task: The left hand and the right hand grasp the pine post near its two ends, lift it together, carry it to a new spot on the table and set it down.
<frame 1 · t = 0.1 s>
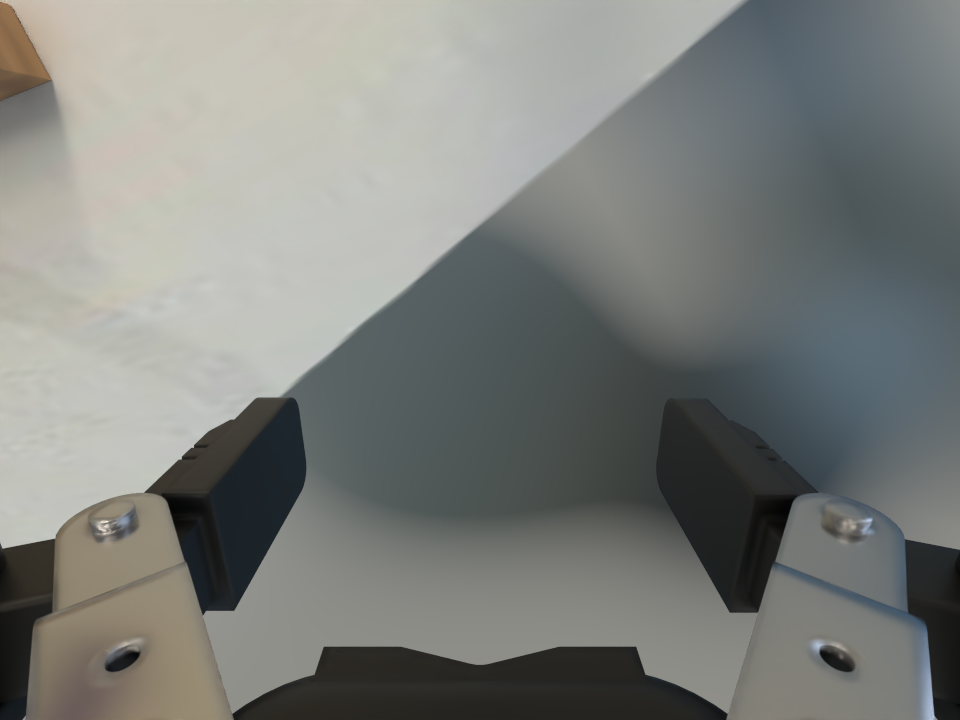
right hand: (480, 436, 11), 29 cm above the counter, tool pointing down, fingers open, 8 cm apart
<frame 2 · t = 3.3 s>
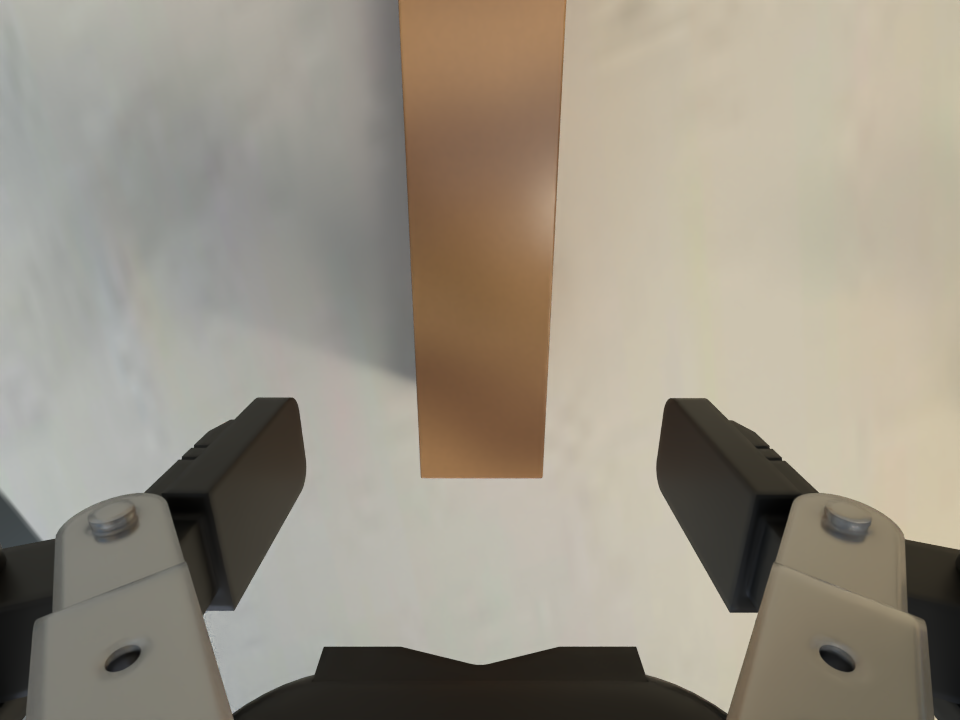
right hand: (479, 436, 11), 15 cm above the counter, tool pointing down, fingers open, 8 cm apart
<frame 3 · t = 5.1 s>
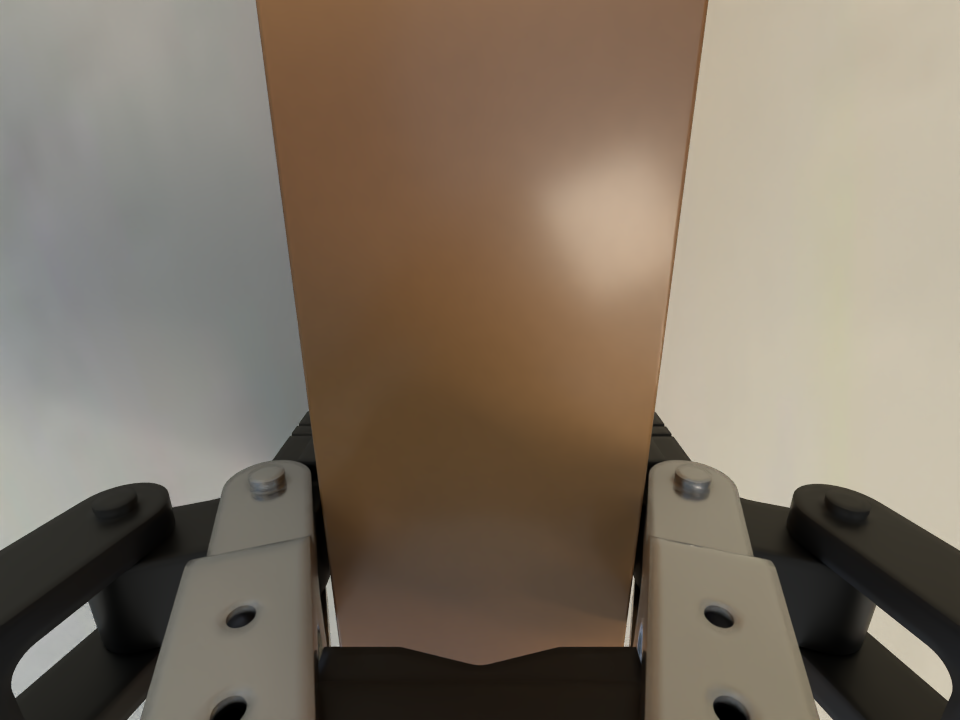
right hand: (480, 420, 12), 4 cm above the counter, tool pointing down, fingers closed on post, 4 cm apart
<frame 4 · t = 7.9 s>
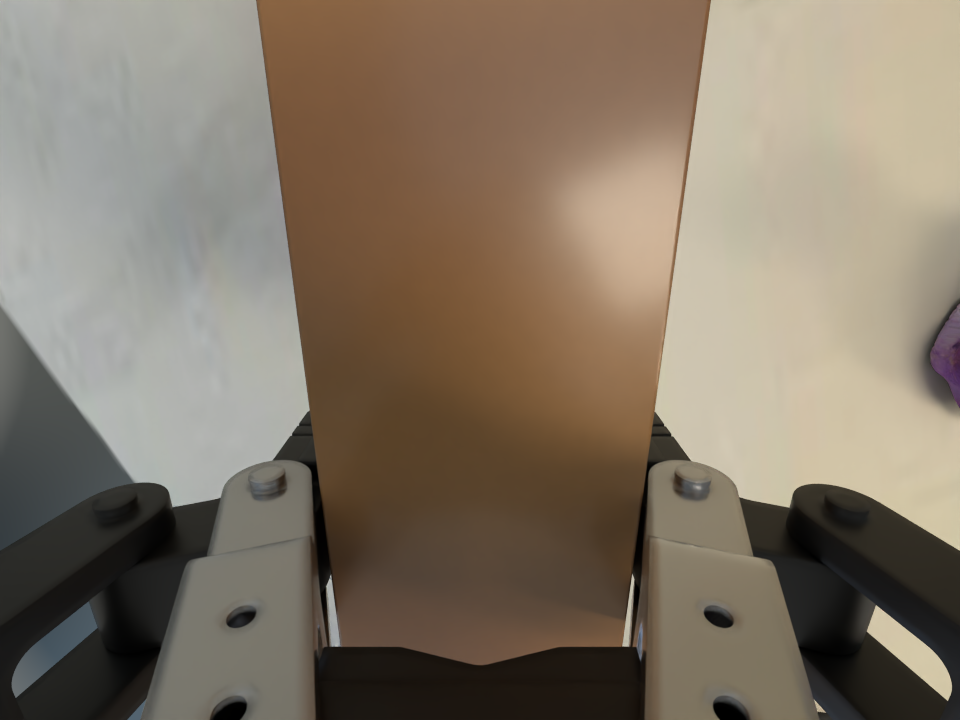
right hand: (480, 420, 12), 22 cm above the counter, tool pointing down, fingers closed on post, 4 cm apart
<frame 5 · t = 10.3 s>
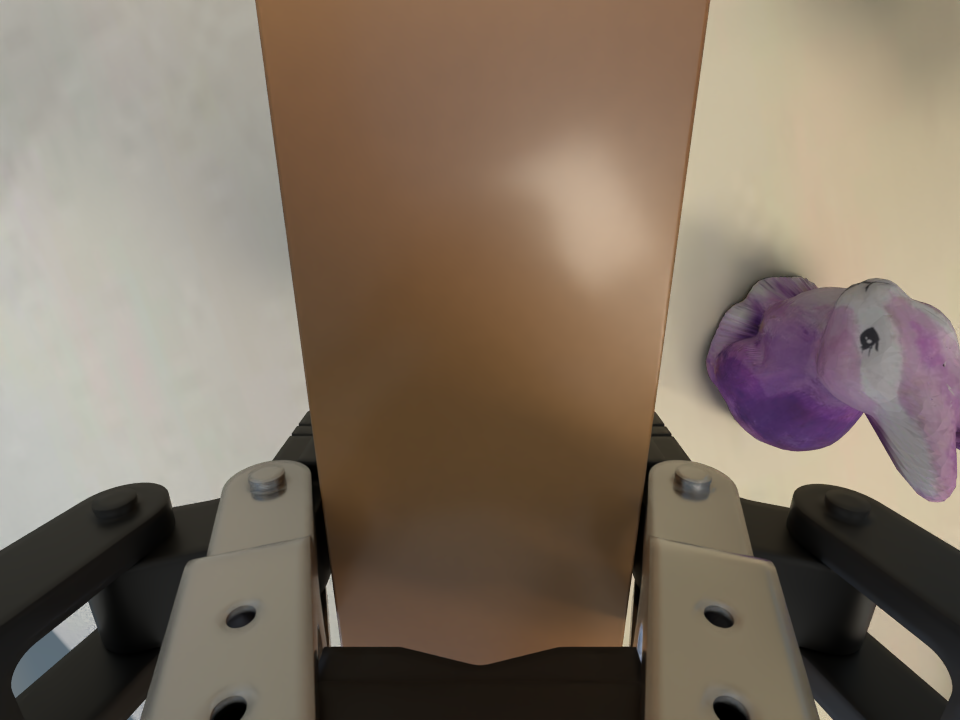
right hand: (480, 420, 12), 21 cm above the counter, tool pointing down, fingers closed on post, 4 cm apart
figurine: (760, 340, 34), on the counter
when the left hand's fingers open (2 cm above the counter, at t = 12.5 s): post drops 1 cm, on the counter.
when the right hand's fingers open (5 cm above the counter, at t = 12.7 s): post stays where it is, on the counter.
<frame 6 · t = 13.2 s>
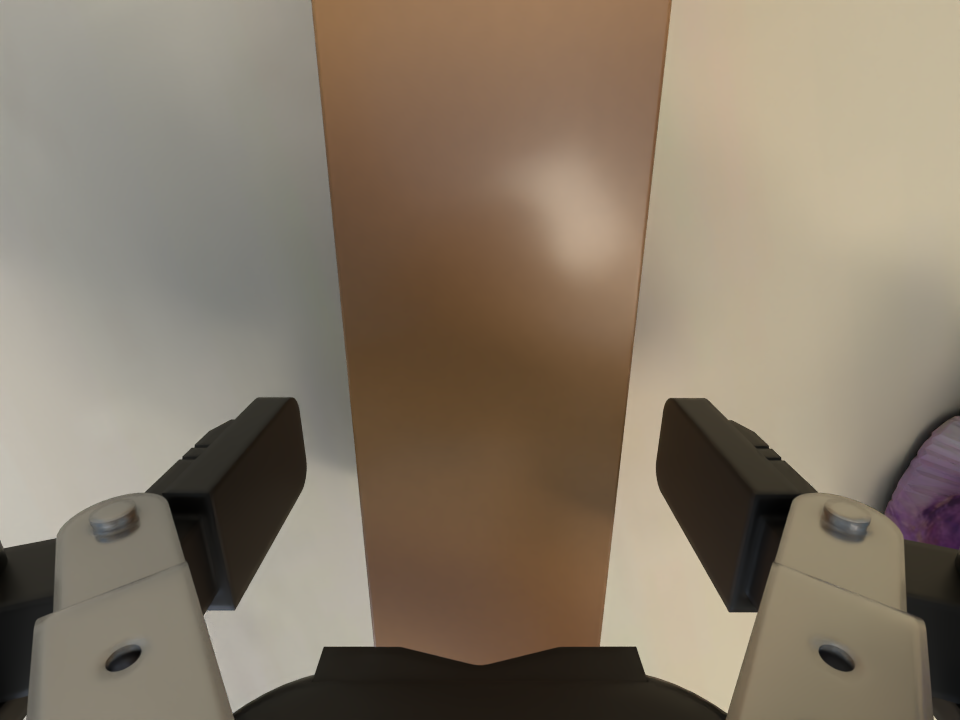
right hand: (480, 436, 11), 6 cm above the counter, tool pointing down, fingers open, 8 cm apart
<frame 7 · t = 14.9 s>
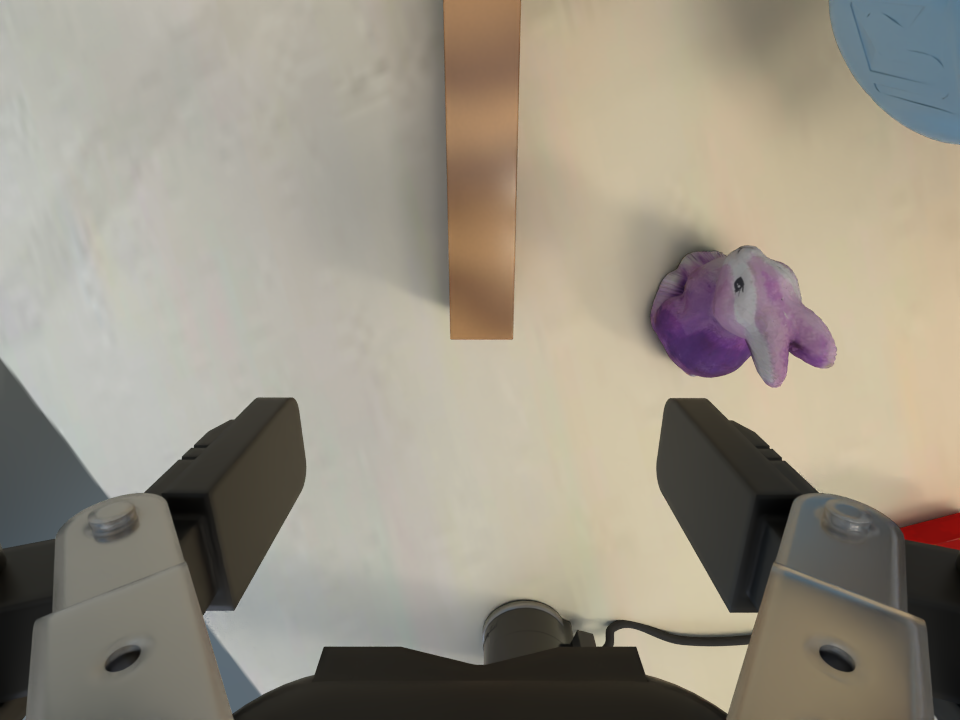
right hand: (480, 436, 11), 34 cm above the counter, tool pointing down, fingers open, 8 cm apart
figurine: (691, 300, 45), on the counter
toy: (920, 615, 57), on the counter
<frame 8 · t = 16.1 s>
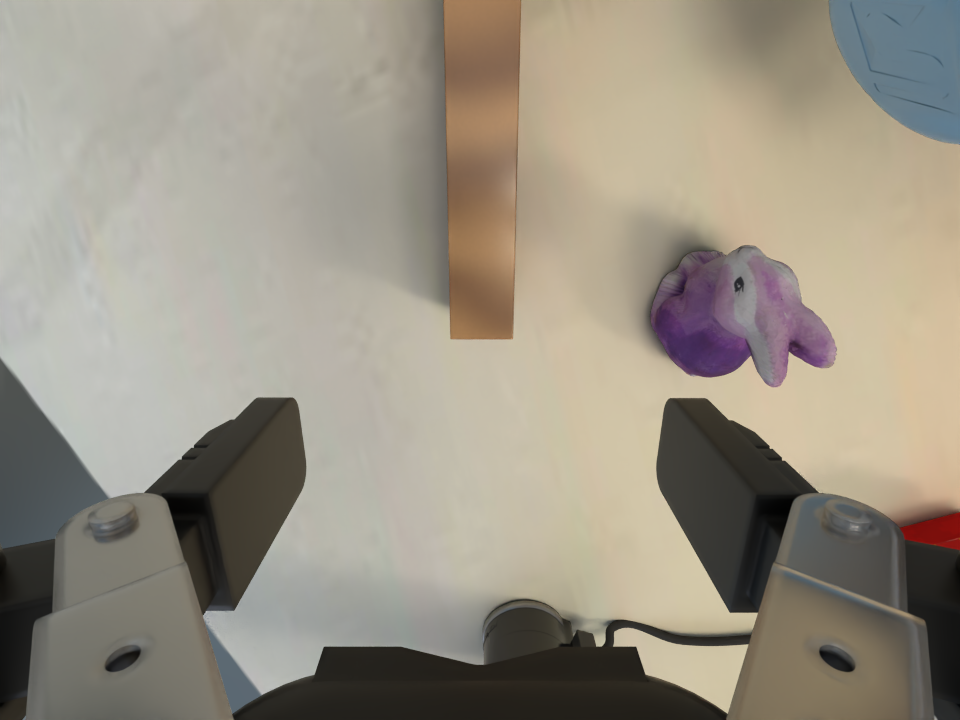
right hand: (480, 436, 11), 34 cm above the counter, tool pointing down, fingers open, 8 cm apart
figurine: (691, 300, 45), on the counter
toy: (920, 615, 57), on the counter
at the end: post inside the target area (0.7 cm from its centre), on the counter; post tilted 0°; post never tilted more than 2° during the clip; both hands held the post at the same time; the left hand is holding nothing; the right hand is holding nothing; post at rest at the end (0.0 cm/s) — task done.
